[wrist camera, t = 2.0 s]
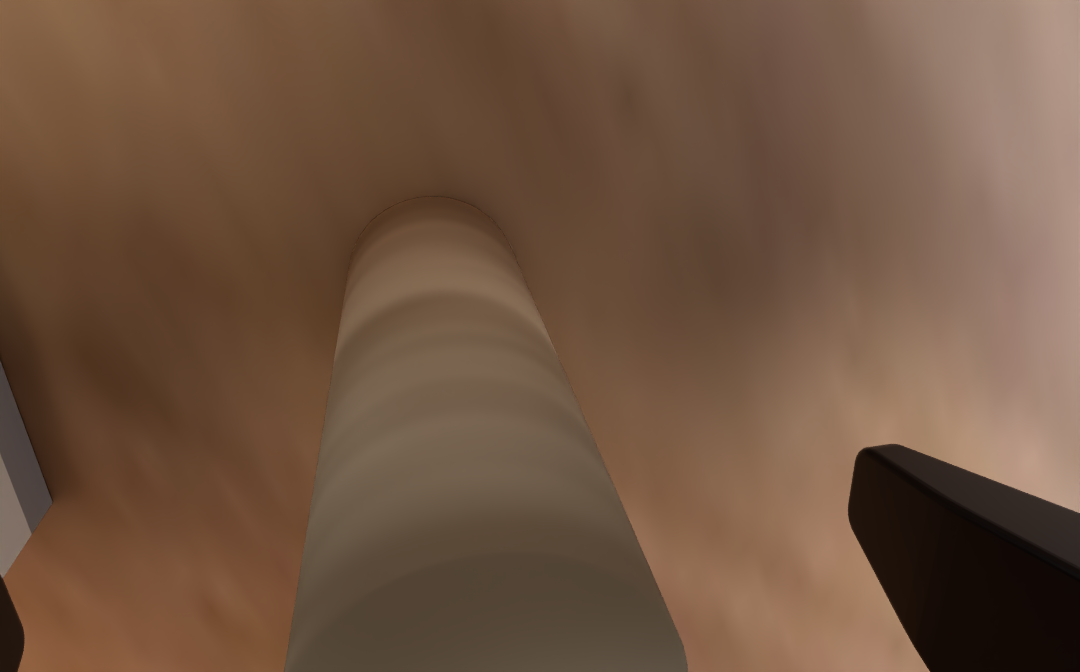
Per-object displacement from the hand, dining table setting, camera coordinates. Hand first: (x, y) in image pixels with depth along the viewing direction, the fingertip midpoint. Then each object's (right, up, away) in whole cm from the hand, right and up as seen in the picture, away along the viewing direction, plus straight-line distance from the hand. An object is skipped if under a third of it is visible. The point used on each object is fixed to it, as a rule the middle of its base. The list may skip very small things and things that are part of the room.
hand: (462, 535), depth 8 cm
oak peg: (-1, +3, +7) cm, 8 cm away
